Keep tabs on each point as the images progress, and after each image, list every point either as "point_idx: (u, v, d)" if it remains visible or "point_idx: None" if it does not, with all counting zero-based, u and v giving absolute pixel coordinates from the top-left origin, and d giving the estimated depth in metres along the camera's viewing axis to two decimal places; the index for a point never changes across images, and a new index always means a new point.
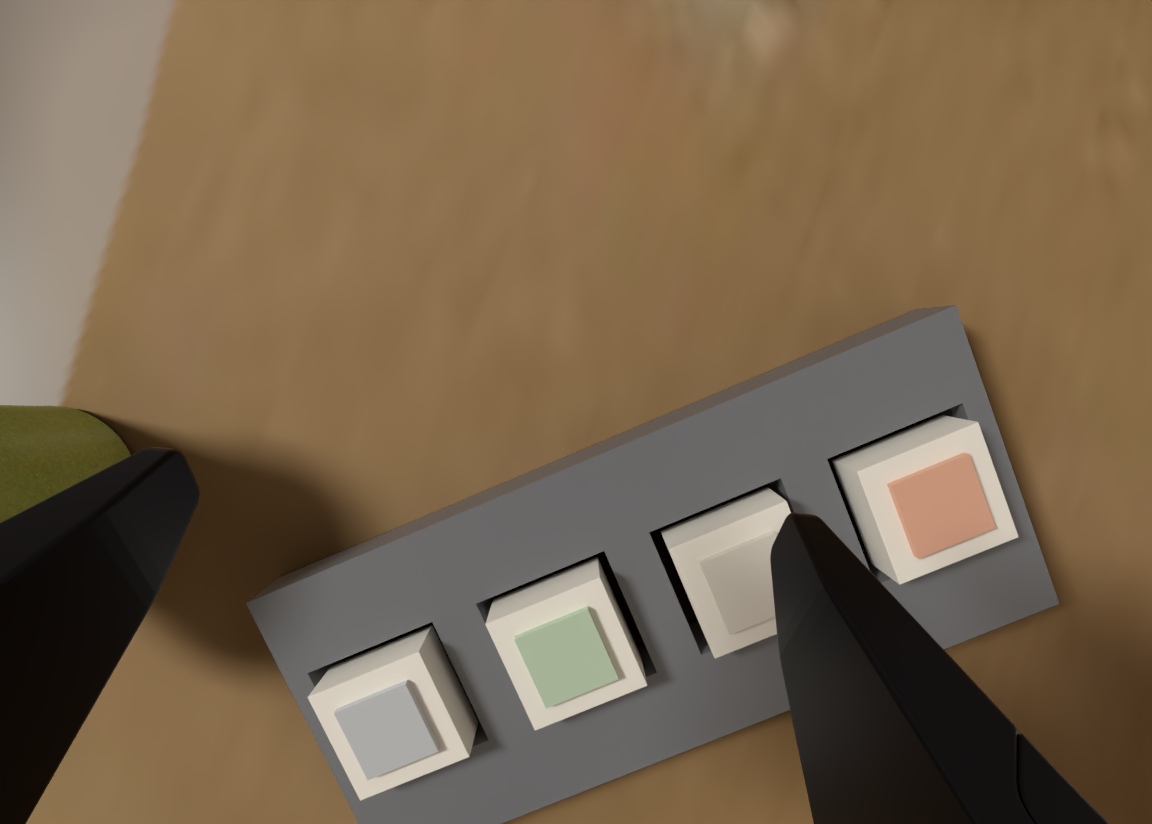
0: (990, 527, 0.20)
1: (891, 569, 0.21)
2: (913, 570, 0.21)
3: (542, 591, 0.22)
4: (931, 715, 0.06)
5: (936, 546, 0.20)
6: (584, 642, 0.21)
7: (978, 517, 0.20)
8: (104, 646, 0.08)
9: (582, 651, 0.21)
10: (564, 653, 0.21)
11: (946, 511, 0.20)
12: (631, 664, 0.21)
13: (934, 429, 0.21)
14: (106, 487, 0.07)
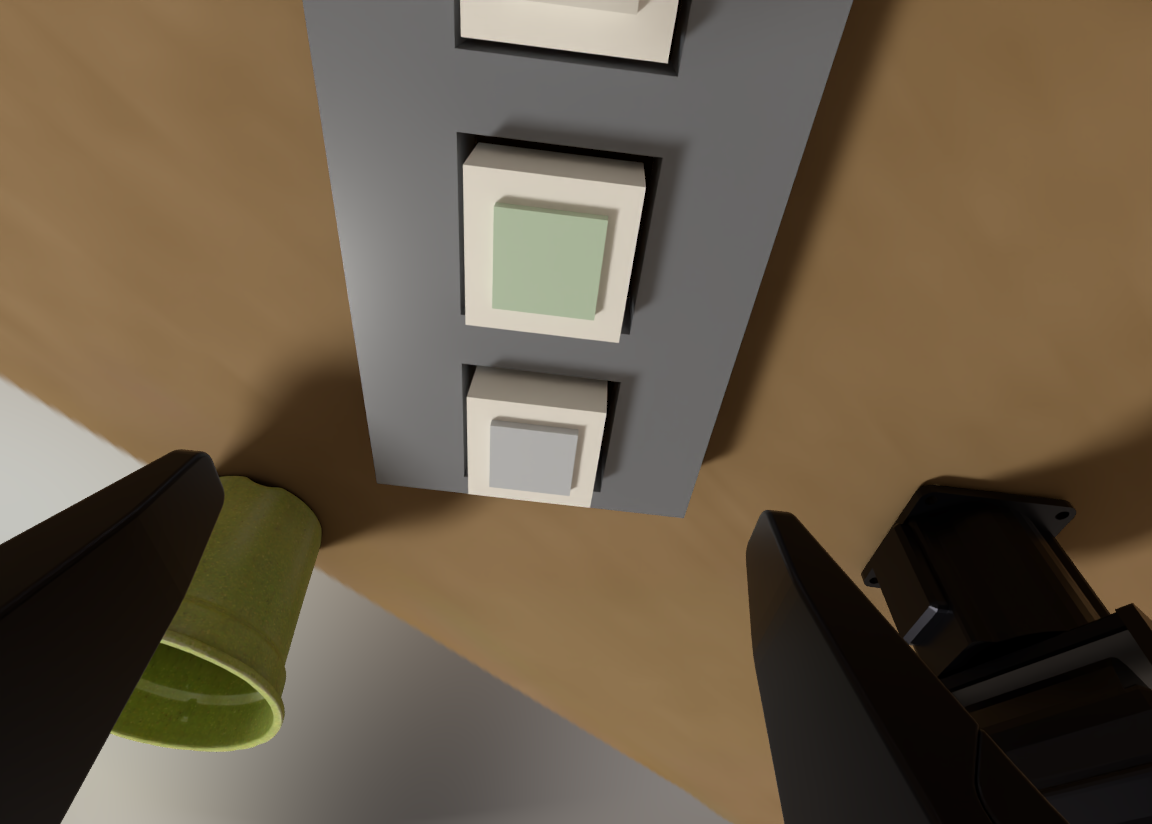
0: None
1: None
2: None
3: None
4: (893, 711, 0.06)
5: None
6: (535, 234, 0.15)
7: None
8: (135, 649, 0.08)
9: (546, 243, 0.15)
10: (537, 265, 0.15)
11: None
12: (604, 191, 0.14)
13: None
14: (137, 490, 0.07)
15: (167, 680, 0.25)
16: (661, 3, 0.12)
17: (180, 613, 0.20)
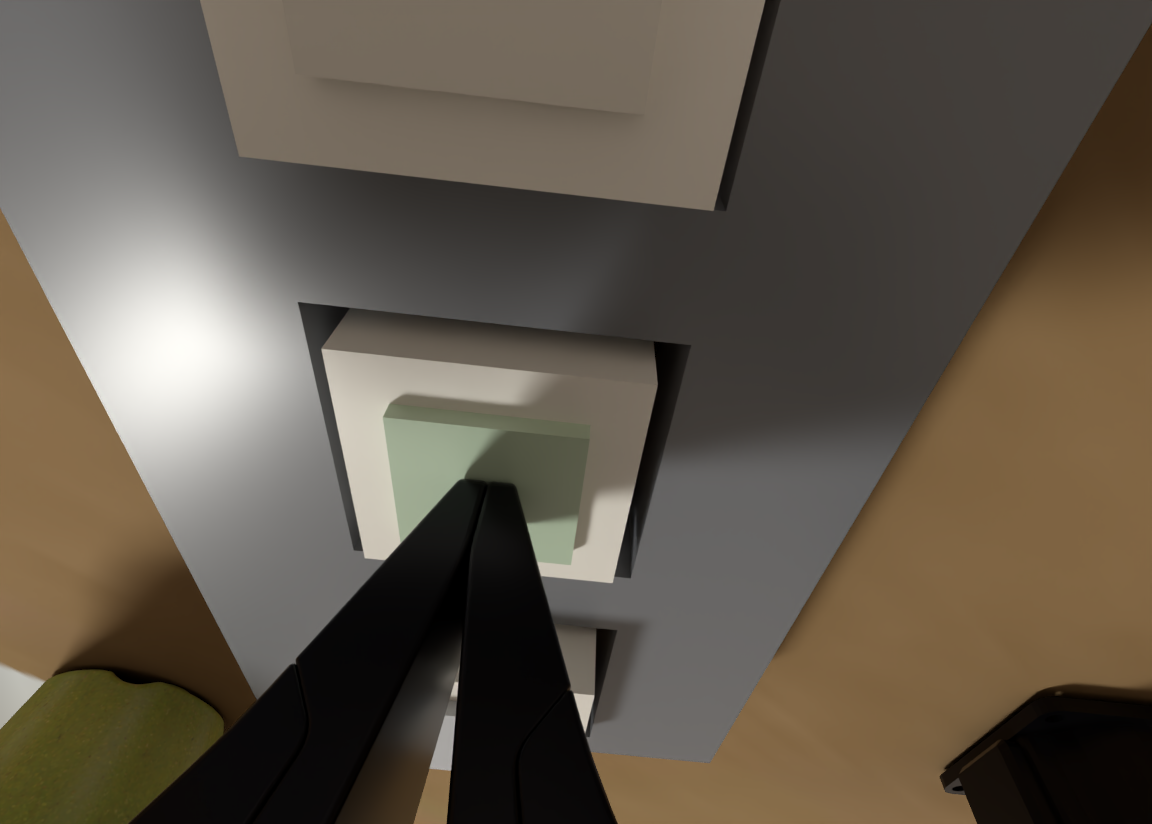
0: None
1: None
2: None
3: None
4: (483, 672, 0.06)
5: None
6: (462, 456, 0.08)
7: None
8: (450, 679, 0.08)
9: (482, 468, 0.08)
10: None
11: None
12: (583, 390, 0.08)
13: None
14: (454, 522, 0.08)
15: None
16: (703, 84, 0.05)
17: None
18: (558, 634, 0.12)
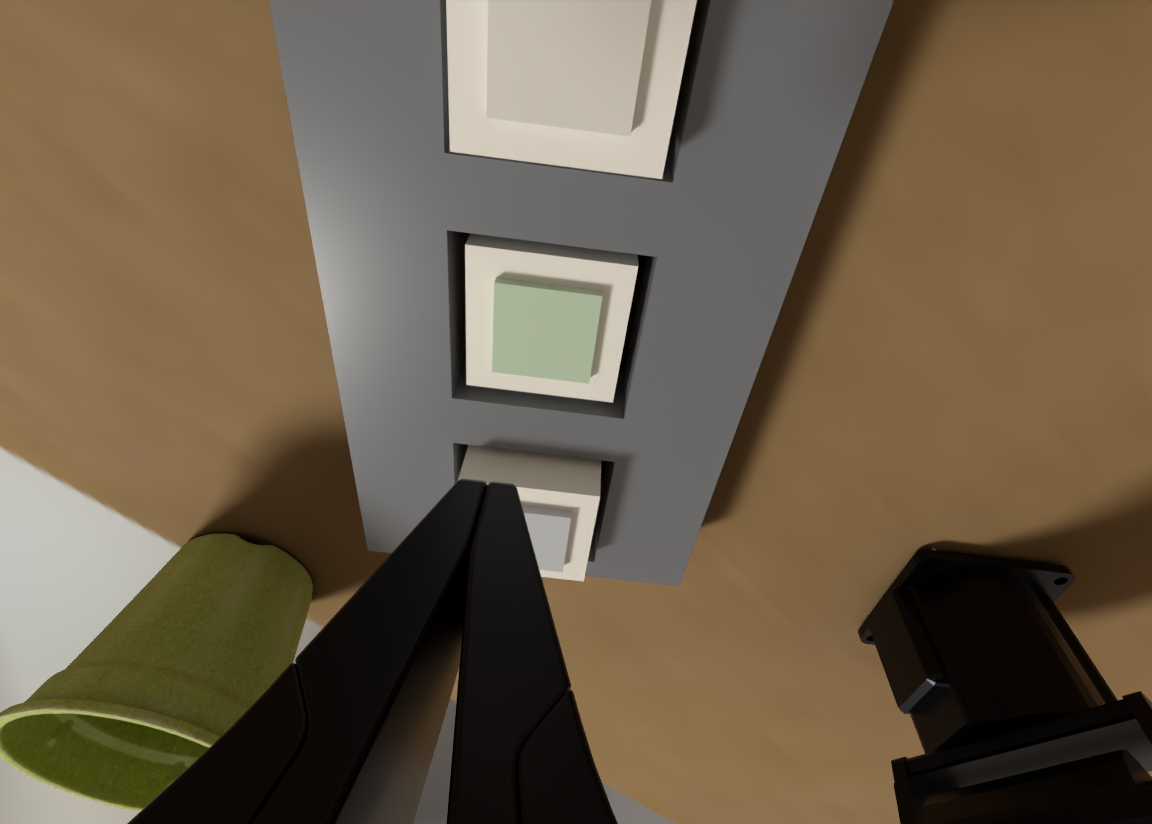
0: None
1: None
2: None
3: None
4: (483, 671, 0.06)
5: None
6: (533, 307, 0.16)
7: None
8: (450, 679, 0.08)
9: (544, 315, 0.16)
10: (535, 334, 0.16)
11: None
12: (599, 269, 0.15)
13: None
14: (454, 522, 0.08)
15: (154, 743, 0.25)
16: (655, 123, 0.12)
17: (166, 690, 0.20)
18: (576, 466, 0.19)
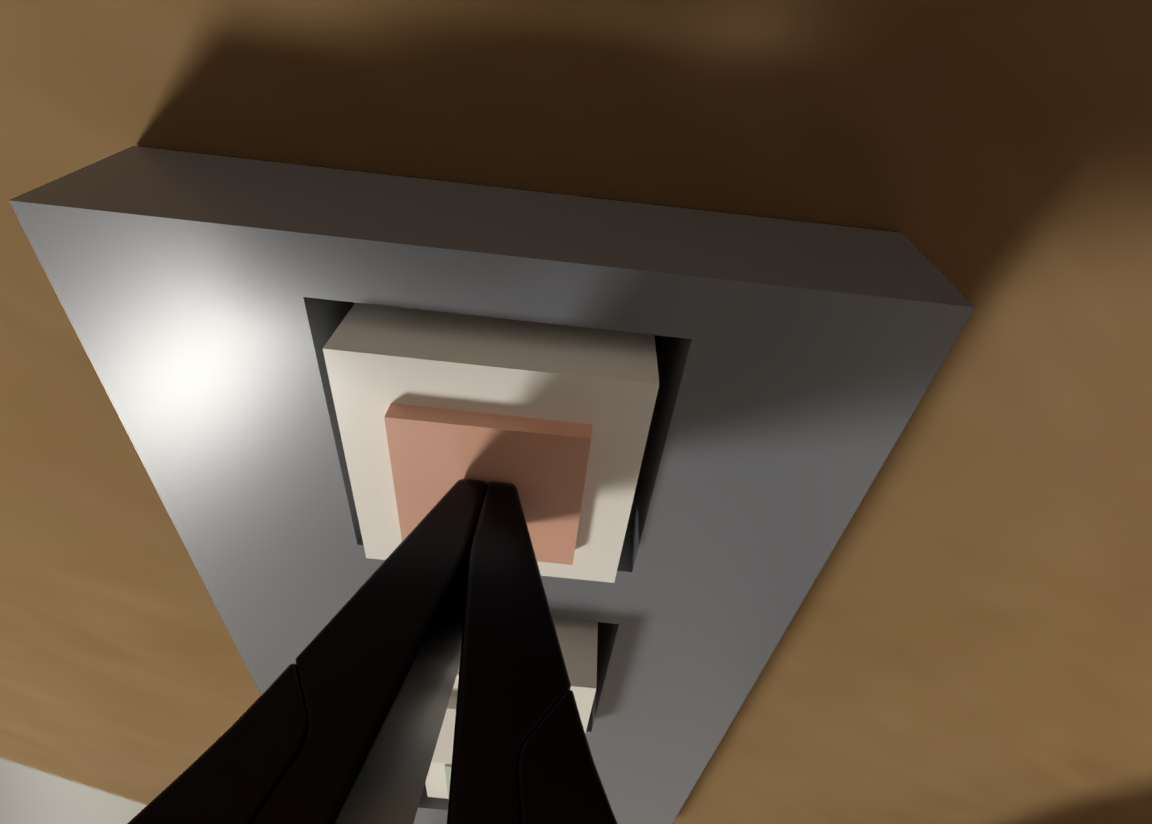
0: (584, 445, 0.08)
1: (588, 568, 0.11)
2: (600, 559, 0.10)
3: None
4: (483, 672, 0.06)
5: (564, 537, 0.09)
6: None
7: (545, 457, 0.08)
8: (450, 679, 0.08)
9: None
10: None
11: None
12: None
13: None
14: (454, 522, 0.08)
15: None
16: None
17: None
18: None
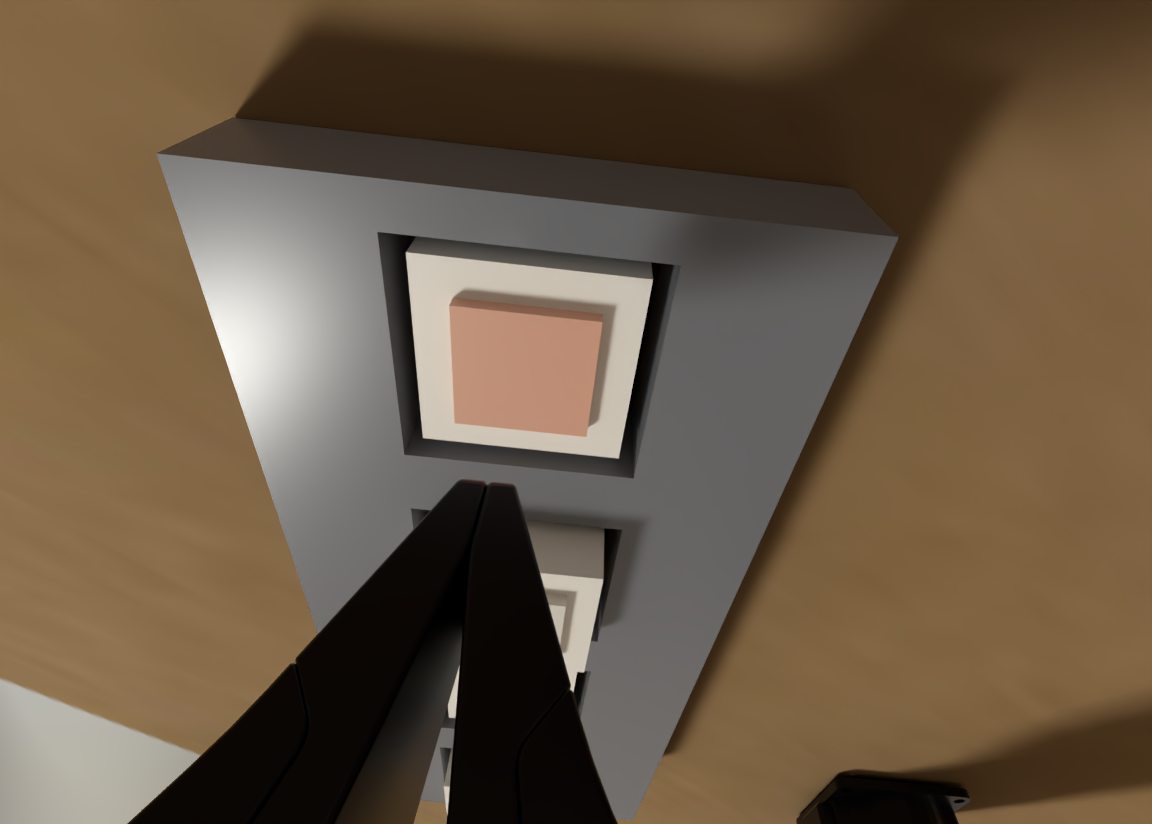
0: (597, 328, 0.11)
1: (597, 448, 0.13)
2: (608, 436, 0.13)
3: None
4: (483, 672, 0.06)
5: (580, 411, 0.12)
6: None
7: (568, 339, 0.11)
8: (450, 679, 0.08)
9: None
10: None
11: (532, 376, 0.12)
12: None
13: None
14: (454, 522, 0.08)
15: None
16: (575, 652, 0.16)
17: None
18: None
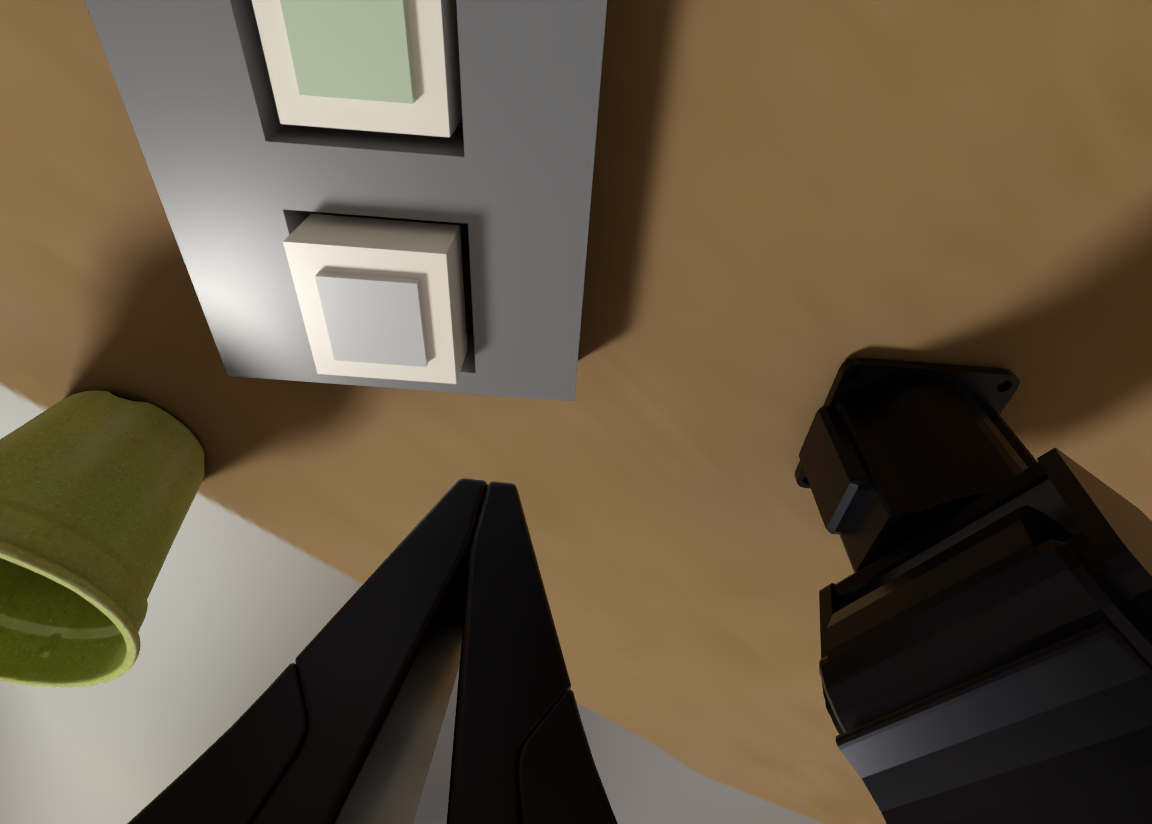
0: None
1: None
2: None
3: None
4: (483, 671, 0.06)
5: None
6: None
7: None
8: (450, 679, 0.08)
9: (339, 0, 0.13)
10: (335, 31, 0.14)
11: None
12: None
13: None
14: (454, 522, 0.08)
15: (27, 614, 0.23)
16: None
17: None
18: (427, 234, 0.17)
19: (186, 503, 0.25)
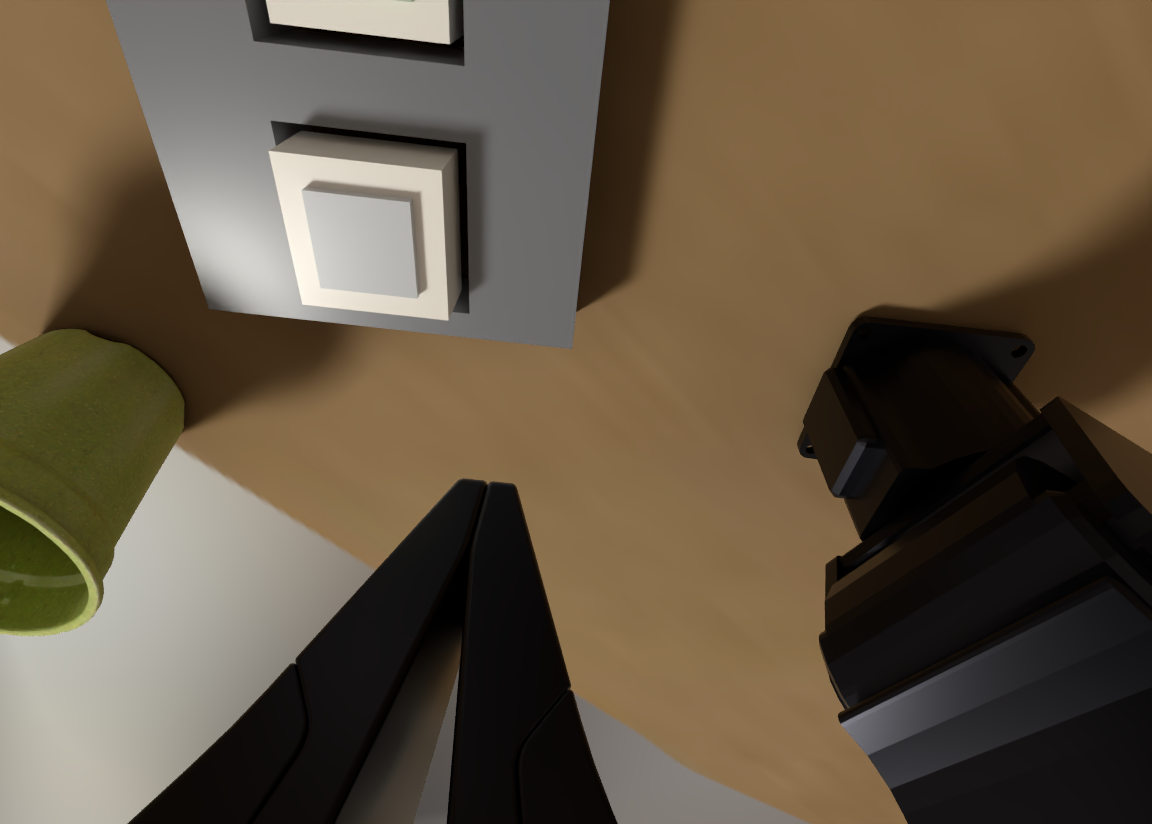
0: None
1: None
2: None
3: None
4: (483, 671, 0.06)
5: None
6: None
7: None
8: (450, 679, 0.08)
9: None
10: None
11: None
12: None
13: None
14: (454, 522, 0.08)
15: None
16: None
17: None
18: (422, 154, 0.16)
19: (162, 451, 0.24)
